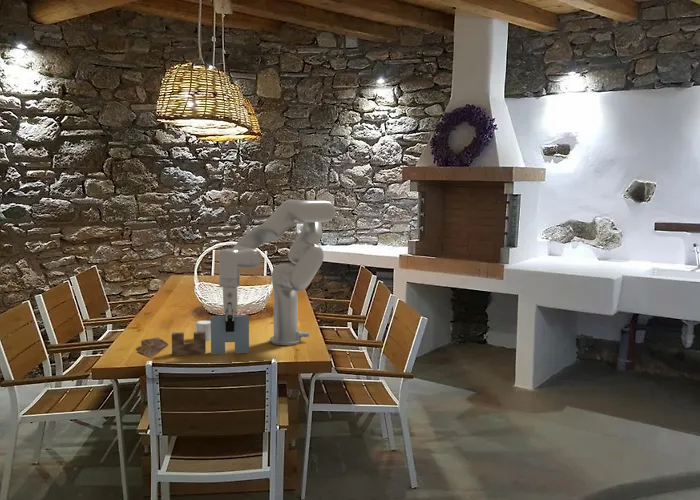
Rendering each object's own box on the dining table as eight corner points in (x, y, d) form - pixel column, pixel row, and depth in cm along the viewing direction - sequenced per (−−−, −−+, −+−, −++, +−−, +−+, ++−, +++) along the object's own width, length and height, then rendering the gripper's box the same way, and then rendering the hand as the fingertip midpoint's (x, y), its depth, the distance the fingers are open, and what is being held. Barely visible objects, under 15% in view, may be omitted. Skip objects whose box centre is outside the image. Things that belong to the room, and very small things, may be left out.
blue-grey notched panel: (248, 350, 234) (248, 314, 232) (248, 352, 232) (248, 316, 230) (211, 352, 231) (210, 315, 229) (210, 354, 229) (210, 317, 227)
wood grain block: (205, 352, 231) (205, 331, 230) (205, 354, 228) (205, 333, 227) (172, 353, 228) (172, 332, 227) (172, 355, 226) (171, 334, 225)
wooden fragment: (143, 339, 248) (143, 336, 247) (171, 338, 249) (171, 336, 249) (131, 359, 222) (130, 356, 222) (162, 358, 224) (162, 355, 224)
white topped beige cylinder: (196, 341, 245) (196, 324, 244) (195, 337, 251) (195, 320, 250) (213, 340, 247) (213, 323, 246) (212, 336, 253) (212, 319, 252)
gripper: (240, 286, 220) (240, 335, 223) (239, 277, 237) (239, 323, 239) (219, 286, 219) (219, 335, 221) (219, 278, 236) (219, 323, 238)
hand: (229, 328), depth 230 cm, fingers open, 6 cm apart
